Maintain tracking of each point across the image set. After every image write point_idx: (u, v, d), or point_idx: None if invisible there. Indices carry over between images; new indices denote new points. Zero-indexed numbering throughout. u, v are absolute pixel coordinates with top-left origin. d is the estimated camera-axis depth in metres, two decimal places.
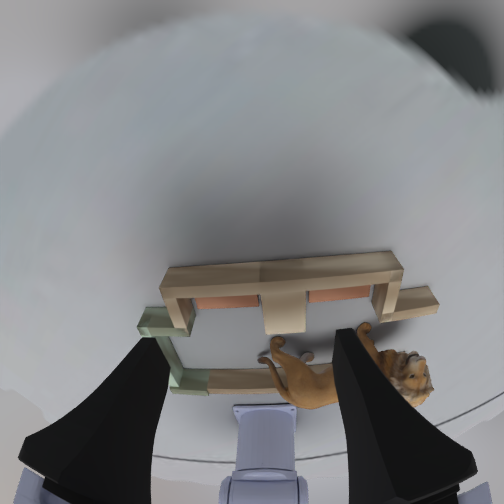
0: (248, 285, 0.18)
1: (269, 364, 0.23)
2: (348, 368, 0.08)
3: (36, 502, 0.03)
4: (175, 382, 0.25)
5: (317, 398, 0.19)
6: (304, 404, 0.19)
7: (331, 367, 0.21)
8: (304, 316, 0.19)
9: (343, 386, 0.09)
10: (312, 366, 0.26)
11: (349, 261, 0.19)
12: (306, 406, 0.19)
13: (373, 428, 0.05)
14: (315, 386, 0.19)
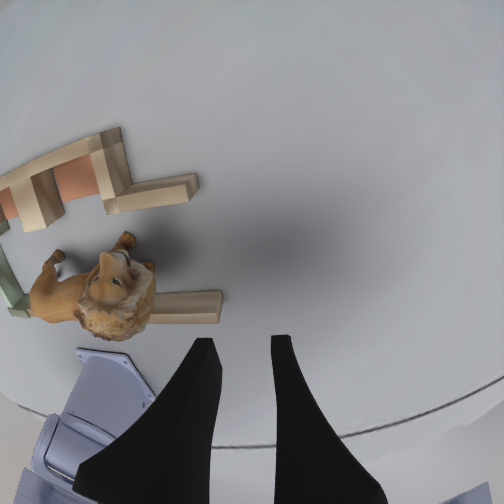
0: (2, 178, 0.14)
1: None
2: None
3: (36, 502, 0.03)
4: (8, 301, 0.21)
5: (40, 303, 0.14)
6: (35, 309, 0.15)
7: None
8: (38, 207, 0.15)
9: None
10: None
11: None
12: (37, 313, 0.15)
13: (277, 440, 0.06)
14: (42, 290, 0.15)
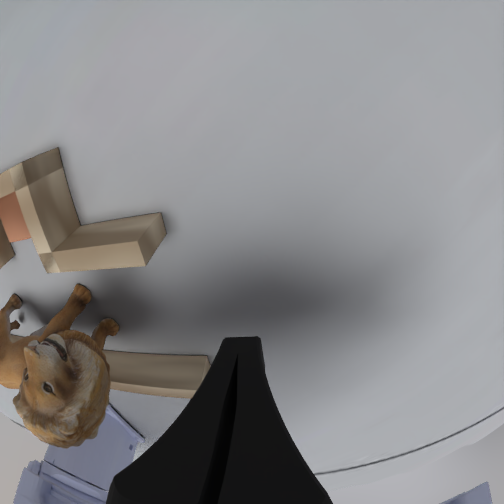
0: None
1: None
2: None
3: (36, 502, 0.03)
4: None
5: None
6: None
7: (22, 338, 0.11)
8: None
9: None
10: None
11: None
12: None
13: (232, 440, 0.06)
14: None
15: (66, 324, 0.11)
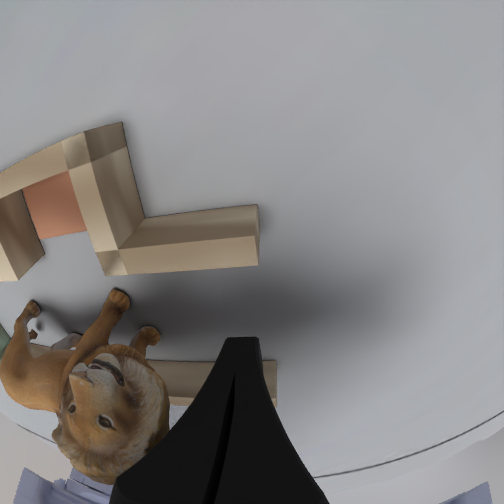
0: None
1: None
2: None
3: (36, 502, 0.03)
4: None
5: (12, 389, 0.08)
6: (8, 393, 0.08)
7: (47, 352, 0.10)
8: (3, 251, 0.09)
9: None
10: None
11: None
12: (12, 397, 0.08)
13: (229, 440, 0.06)
14: (12, 371, 0.09)
15: (105, 336, 0.10)
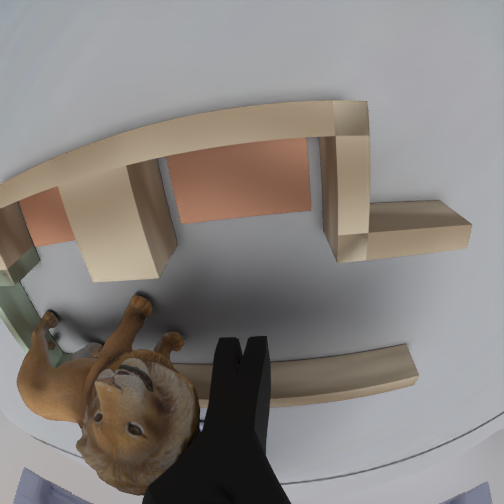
0: (39, 169, 0.07)
1: None
2: None
3: (36, 502, 0.03)
4: None
5: (31, 400, 0.08)
6: (27, 404, 0.09)
7: (67, 362, 0.11)
8: (143, 236, 0.08)
9: None
10: None
11: None
12: (30, 409, 0.09)
13: (200, 438, 0.06)
14: (31, 382, 0.09)
15: (128, 343, 0.11)
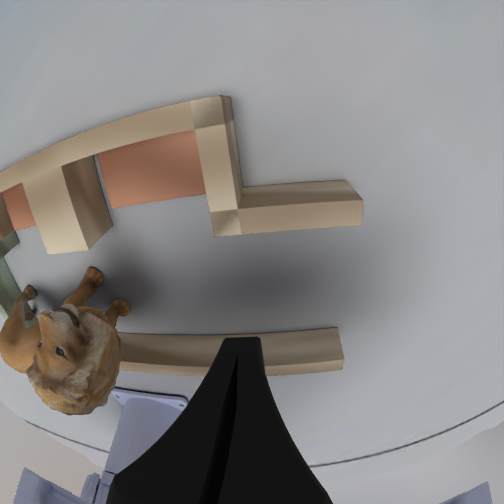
0: (10, 170, 0.09)
1: None
2: None
3: (36, 502, 0.03)
4: None
5: (7, 353, 0.10)
6: (4, 359, 0.11)
7: (36, 322, 0.13)
8: (75, 217, 0.10)
9: None
10: (171, 336, 0.17)
11: None
12: (7, 363, 0.11)
13: (232, 440, 0.06)
14: (8, 338, 0.11)
15: (79, 303, 0.13)
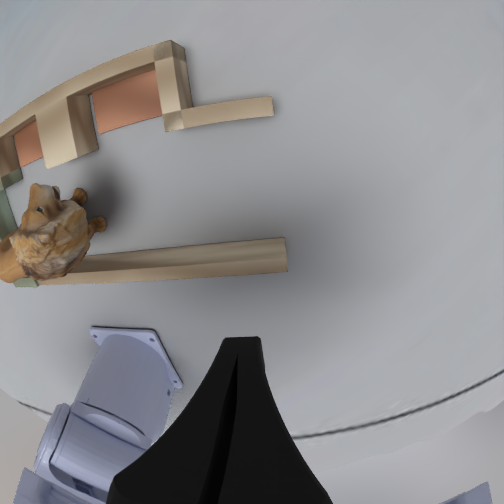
0: (27, 106, 0.11)
1: None
2: None
3: (36, 502, 0.03)
4: None
5: None
6: None
7: None
8: (71, 132, 0.13)
9: None
10: (139, 251, 0.19)
11: None
12: None
13: (232, 440, 0.06)
14: (1, 249, 0.13)
15: None
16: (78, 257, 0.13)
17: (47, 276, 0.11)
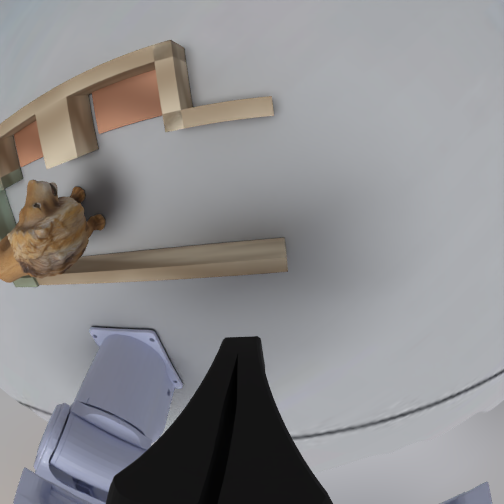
0: (27, 106, 0.11)
1: None
2: None
3: (36, 502, 0.03)
4: None
5: None
6: None
7: None
8: (71, 132, 0.13)
9: None
10: (139, 251, 0.19)
11: None
12: None
13: (232, 440, 0.06)
14: (0, 248, 0.13)
15: None
16: (76, 253, 0.13)
17: (45, 272, 0.11)
